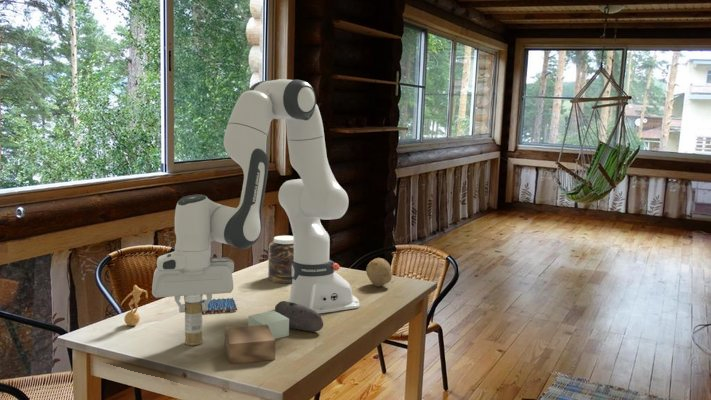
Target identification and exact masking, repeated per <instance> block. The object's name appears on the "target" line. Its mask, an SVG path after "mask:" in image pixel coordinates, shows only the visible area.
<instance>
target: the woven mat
mask: <svg viewBox="0 0 711 400" xmlns="http://www.w3.org/2000/svg"><path fill="white" fill-rule="evenodd" d="M205 301H206V299H202V303H205ZM237 311H238V308H237V305H236V302H235V300H234V297H232V298H229V297H227V298H224V297H222V298H218V299H217V298H212V299H211V301H210V302H209V304H208V311H202V315H206V314H210V313H211V314H217V313H218V314H222V313H223V314H224V313H229V312H230V313H233V312H234V313H236V312H237Z"/></svg>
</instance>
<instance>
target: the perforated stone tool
mask: <svg viewBox="0 0 711 400" xmlns="http://www.w3.org/2000/svg"><path fill="white" fill-rule="evenodd" d="M274 307H275V308H274V311H276V312H278V313H279V314H281V315H283V316H285V317H287V318H289V329H294V330H299V331H304V332H318V331H320V330H322V329H323V327H324V320H323V318H322V316H321V314H318V313H317V312H315V311H314V310H312V309H310V308H307V307H305V306H302V305H299V304H296V303H292V302H288V301H287V300H283V301H280V302H278V303H277V304H275V306H274Z"/></svg>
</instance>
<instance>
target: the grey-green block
mask: <svg viewBox="0 0 711 400" xmlns="http://www.w3.org/2000/svg"><path fill="white" fill-rule="evenodd" d="M247 322H248V326H259V325H268V327H269V329H270V331H271V333H272V335H273V337H274V339H275V340H276V339H281V338H285V337H289V335H290V328H289V318H287V317H285V316H283V315H281V314H279V313H278V312H276V311H275V310H269V311H265V312H261V313H260V312H259V313H256V314H250V315H248V321H247Z"/></svg>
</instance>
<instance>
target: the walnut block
mask: <svg viewBox="0 0 711 400" xmlns="http://www.w3.org/2000/svg"><path fill="white" fill-rule="evenodd" d="M224 348H225V353H226V355H227V359H228V363H229V364H230V365H231V364H240V363H241V364H242V363H252V362H253V363H254V362H261V361H271V360H272V361H273V360H274V361H275V360H276V339H274V337H273V335H272V333H271V331H270V329H269V327H268V325H259V326H246V325H245V326H237V327H224Z"/></svg>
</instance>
